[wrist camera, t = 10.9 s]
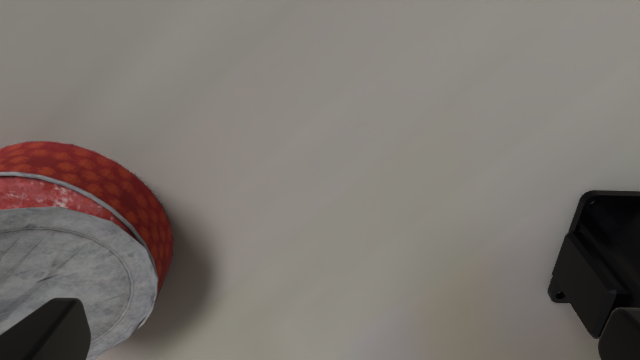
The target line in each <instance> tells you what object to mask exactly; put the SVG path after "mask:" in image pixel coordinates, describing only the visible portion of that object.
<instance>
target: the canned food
mask: <svg viewBox="0 0 640 360" xmlns="http://www.w3.org/2000/svg"><path fill="white" fill-rule="evenodd" d="M172 256H173V235H172V230H171V226H170V222H169V220H168V218H167V215H166V213H165V211H164V209H163V207H162V205H161V204H160V202H159V201H158V200H157V198H156V197H155V195H154V194H153V193H152V191H151V190H150V189H149V188H148V187H147V186H146V185H145V184H144V183H143V182H142V181H141V180H140V179H139V178H138V177H137V176H136V175H134V174H133V173H132V172H130V171H129V170H127V169H126V168H124V167H123V166H122V165H120V164H119V163H117V162H116V161H114V160H112V159H109V158H107V157H105V156H103V155H101V154H99V153H97V152H95V151H92V150H89V149H86V148H82V147H79V146H76V145H73V144H67V143H60V142H53V141H27V142H22V143H18V144H13V145H9V146H5V147H3V148H1V149H0V335H1V334H2V333H4V332H5V331H6V330H8V329H9V328H11V327H12V326H13V325H15V324H16V323H18V322H19V321H21V320H22V319H23V318H25V317H26V316H28V315H29V314H31V313H32V312H33V311H35V310H36V309H38V308H39V307H41V306H42V305H43V304H45V303H46V302H48V301H49V300H51V299H53V298H78V299H80V300H81V301H82V303H83V306H84V310H85V313H86V317H87V320H88V324H89V327H90V331H91V344H90V348H89V352H88V355H87V358H86V360H94V359H95V358H97V357H98V356H100V355H101V354H103V353H104V352H106V351H107V350H108V349H110V348H112V347H113V346H115V345H117V344H119V343H121V342H122V341H124V340H126V339H128V338H129V337H130V335H132V334H133V333H134V332H135V331H137V330H138V329H139V328H140V327H141V326H142V325H143V324H144V323H145V322H146V320H147V319H148V317H149V316H150V314H151V313H152V311H153V309H154V306H155V303H156V300H157V297H158V294H159V292H160V289H161V287H162V284H163V282H164V279H165V276H166V274H167V271H168V269H169V266H170V263H171V259H172Z"/></svg>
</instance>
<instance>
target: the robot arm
mask: <svg viewBox="0 0 640 360" xmlns="http://www.w3.org/2000/svg"><path fill="white" fill-rule="evenodd" d="M593 200H596V201H595V202H594V203H593V204H590V203H591V202H592V201H593ZM552 275H553V277H552V279H551V282H550V285H549V288H548V295H549V296H550V298H551V300H552V301H553V302H556V303H570V304H571V305H572V307H573V308H574V310H575V312H576V313H577V315H578V316H579V318H580V319H581V321H582V323H583V324H584V326H585V327H586V329H587V331H588V332H589V333H590V335H591V336H592V337H593V338H595V339H599V343H598V350H599V355H600V358H601V360H640V192H638V191H598V190H593V191H589V192H586V193H585V194H584V195H582V197H581V198H580V201H579V203H578V206H577V209H576V212H575V215H574V218H573V220H572V223H571V226H570V229H569V232H568V233H567V235H566V236H565V239H564V241H563V244H562V247H561V250H560V253H559V256H558V258H557V261H556V264H555V267H554V270H553V273H552ZM559 292H560V293H559ZM557 293H558V294H557ZM90 344H91V331H90V327H89V324H88V320H87V317H86V313H85V310H84V306H83V303H82V301H81V300H80V299H78V298H53V299H51V300H49V301H48V302H46V303H45V304H43V305H42V306H41V307H39V308H38V309H36V310H35V311H33V312H32V313H31V314H29V315H28V316H26V317H25V318H23V319H22V320H21V321H19V322H18V323H16V324H15V325H13V326H12V327H11V328H9V329H8V330H6V331H5V332H4V333H2V334H1V335H0V360H86V358H87V355H88V352H89V348H90Z"/></svg>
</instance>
